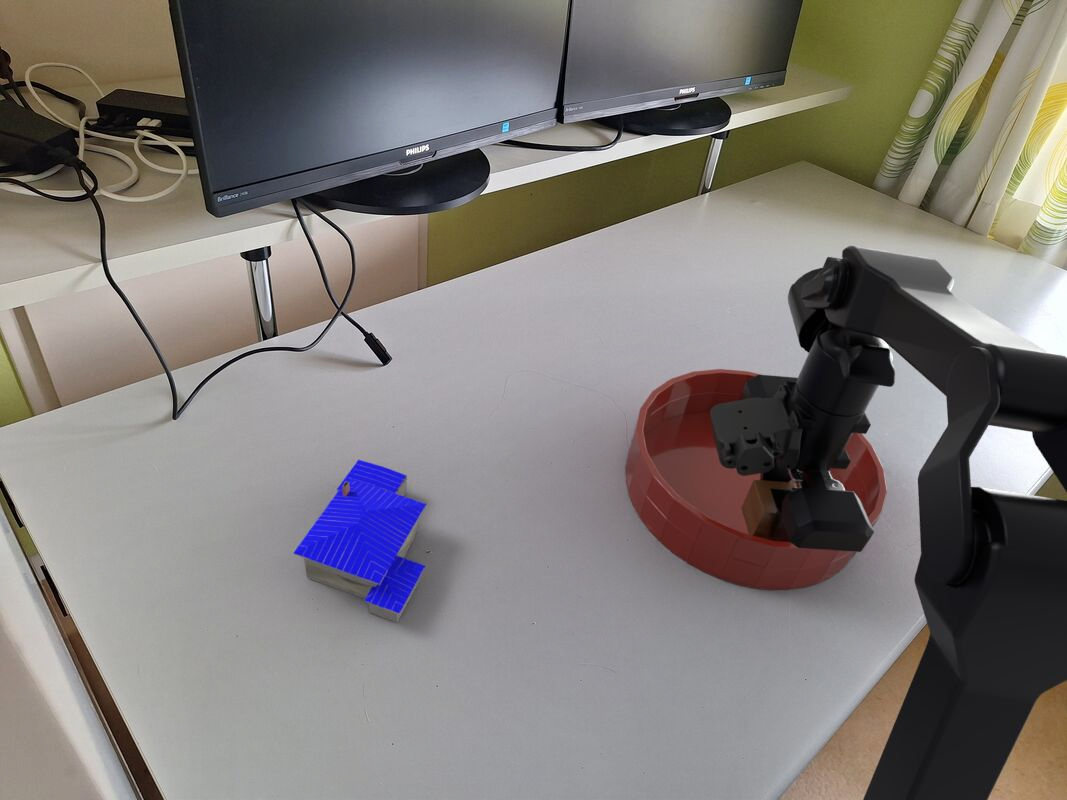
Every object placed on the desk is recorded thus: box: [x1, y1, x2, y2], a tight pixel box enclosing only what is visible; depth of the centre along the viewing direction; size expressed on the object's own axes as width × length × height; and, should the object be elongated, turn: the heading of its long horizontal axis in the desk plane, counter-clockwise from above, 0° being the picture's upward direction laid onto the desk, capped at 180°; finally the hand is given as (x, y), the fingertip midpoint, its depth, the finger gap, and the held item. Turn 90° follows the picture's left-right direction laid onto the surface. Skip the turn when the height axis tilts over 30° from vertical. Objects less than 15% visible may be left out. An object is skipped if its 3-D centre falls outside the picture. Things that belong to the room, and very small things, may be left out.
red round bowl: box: [624, 368, 888, 591], centre depth 80 cm, size 25×25×6 cm
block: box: [741, 480, 797, 542], centre depth 71 cm, size 4×4×4 cm
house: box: [293, 459, 427, 623], centre depth 69 cm, size 11×14×6 cm
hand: (770, 518), depth 71 cm, fingers closed on block, 4 cm apart
